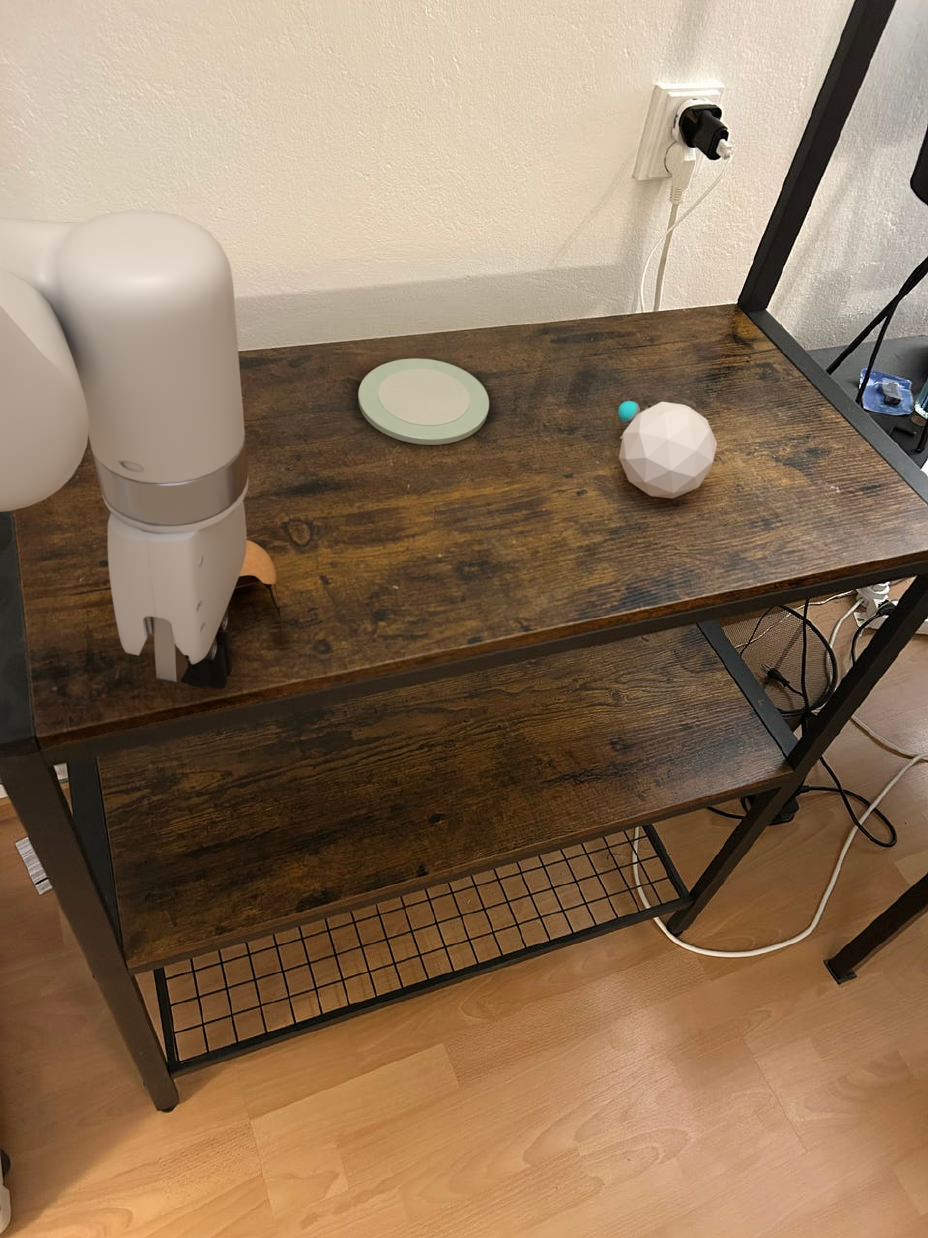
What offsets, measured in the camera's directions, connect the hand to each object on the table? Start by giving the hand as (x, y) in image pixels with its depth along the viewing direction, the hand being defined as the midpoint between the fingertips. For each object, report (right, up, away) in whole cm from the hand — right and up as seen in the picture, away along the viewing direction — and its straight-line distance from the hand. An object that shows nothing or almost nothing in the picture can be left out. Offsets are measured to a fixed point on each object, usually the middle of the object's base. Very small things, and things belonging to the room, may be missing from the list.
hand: (205, 676), depth 64 cm
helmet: (+1, +4, +7) cm, 8 cm away
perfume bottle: (+33, +17, +22) cm, 44 cm away
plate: (+13, +24, +25) cm, 37 cm away
